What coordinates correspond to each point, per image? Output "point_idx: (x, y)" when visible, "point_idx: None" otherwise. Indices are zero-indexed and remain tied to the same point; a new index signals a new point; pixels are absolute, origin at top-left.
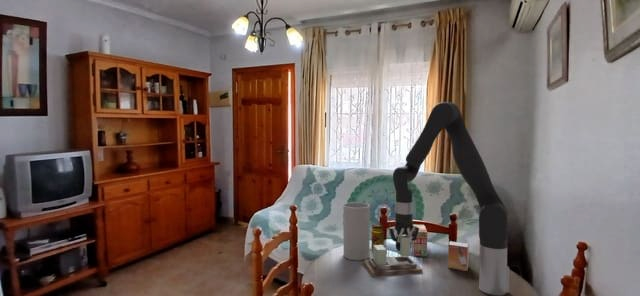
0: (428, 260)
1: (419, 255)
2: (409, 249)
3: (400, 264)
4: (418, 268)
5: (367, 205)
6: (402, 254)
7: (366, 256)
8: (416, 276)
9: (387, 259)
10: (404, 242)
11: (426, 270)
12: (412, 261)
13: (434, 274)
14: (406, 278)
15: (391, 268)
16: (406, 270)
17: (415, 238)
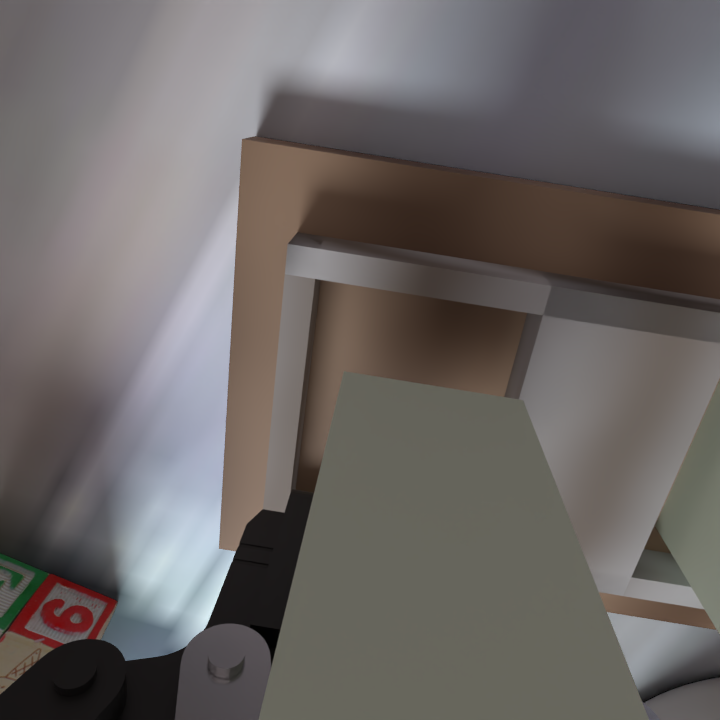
0: (3, 452)
1: (55, 582)
2: (352, 443)
3: (552, 310)
4: (289, 186)
5: None
6: (510, 416)
7: (713, 707)
8: (414, 39)
9: (610, 525)
10: (515, 608)
11: (161, 192)
12: (297, 352)
13: (109, 19)
14: (607, 17)
15: (701, 300)
16: (510, 181)
17: (26, 693)
